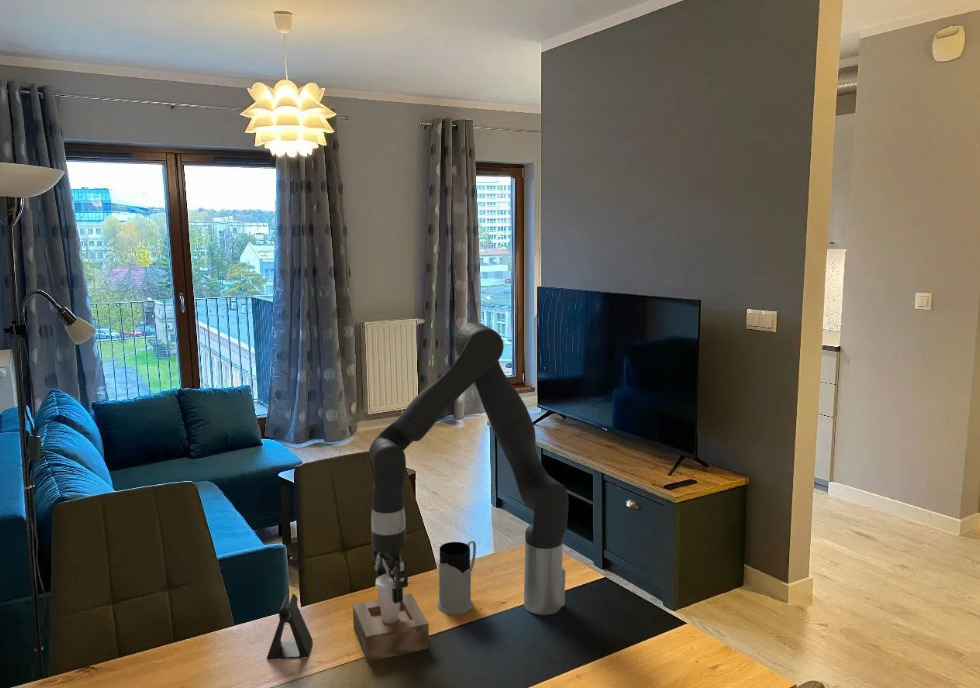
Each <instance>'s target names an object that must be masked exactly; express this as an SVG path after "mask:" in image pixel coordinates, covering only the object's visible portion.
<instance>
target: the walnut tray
mask: <svg viewBox="0 0 980 688" xmlns="http://www.w3.org/2000/svg"><path fill="white" fill-rule="evenodd" d="M352 614H353V617H352V618H353V619H352V621H353V631H354V633H355V635H356V638H357V640H358V643H359V647H361V651H362V653H363V656H364V658H365V661H366V663H370V662H373V660H375V661H378V660H377V659H379V660H383V659H386V658H387V657H388V658H392V657H397V656H401V655H405V654H409V653H414V651H415V652H419V651H423V649H424V650H428V649H430V638H429V637H430V635H429V634H430V633H429V632H430V627H429V626H430V624H429V621H428V620H427V619H426V618H427V617H425V615H424V613H423V612H422V610H421V608H420V606H419V604H418V602H417V601H416V599H415V598H414V596H413V594H412V593H406V594H403V601H402V602H400V609H399V617H398V621H397V622H395V623H392V624H386V623H384V622H383V621H382V617H381V610H380V603H379V599H376V600H369V601H366V602H359V603H354V604H352ZM382 658H383V659H382ZM388 658H387V659H388Z"/></svg>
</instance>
